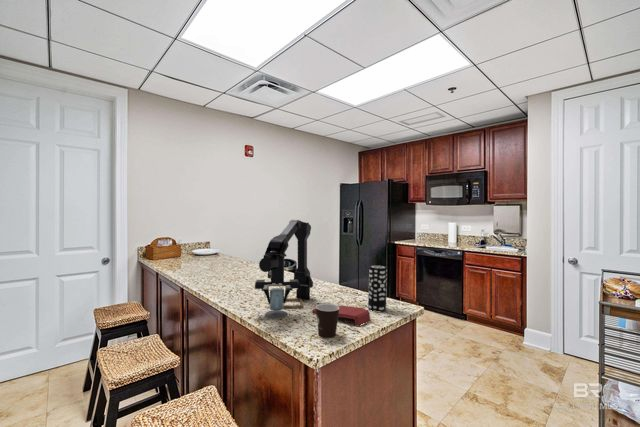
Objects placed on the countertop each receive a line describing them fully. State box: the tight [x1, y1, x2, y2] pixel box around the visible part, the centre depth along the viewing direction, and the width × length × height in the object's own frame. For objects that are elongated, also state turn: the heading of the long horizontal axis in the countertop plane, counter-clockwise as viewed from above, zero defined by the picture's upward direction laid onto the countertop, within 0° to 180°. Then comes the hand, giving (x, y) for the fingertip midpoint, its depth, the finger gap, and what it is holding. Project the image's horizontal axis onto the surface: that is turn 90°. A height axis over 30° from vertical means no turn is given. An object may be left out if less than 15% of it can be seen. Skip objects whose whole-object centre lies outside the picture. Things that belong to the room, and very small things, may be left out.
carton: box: [311, 304, 371, 327], centre depth 130 cm, size 12×5×25 cm
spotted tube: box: [367, 264, 388, 312], centre depth 140 cm, size 8×8×20 cm
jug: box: [269, 287, 285, 311], centre depth 128 cm, size 8×6×8 cm
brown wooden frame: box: [283, 297, 304, 310], centre depth 144 cm, size 15×12×1 cm
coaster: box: [264, 310, 289, 320], centre depth 129 cm, size 10×10×1 cm
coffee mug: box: [315, 303, 339, 339], centre depth 111 cm, size 12×9×10 cm
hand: (276, 303), depth 129 cm, fingers closed on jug, 6 cm apart
